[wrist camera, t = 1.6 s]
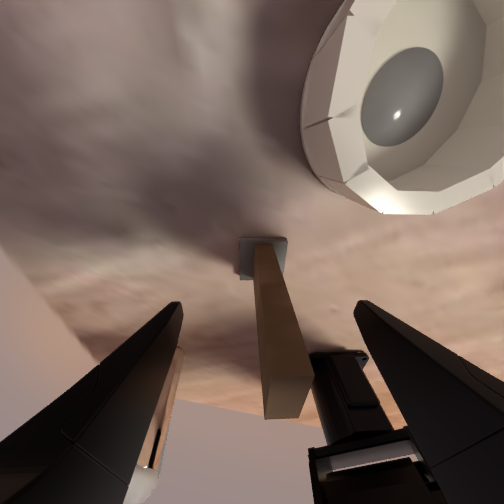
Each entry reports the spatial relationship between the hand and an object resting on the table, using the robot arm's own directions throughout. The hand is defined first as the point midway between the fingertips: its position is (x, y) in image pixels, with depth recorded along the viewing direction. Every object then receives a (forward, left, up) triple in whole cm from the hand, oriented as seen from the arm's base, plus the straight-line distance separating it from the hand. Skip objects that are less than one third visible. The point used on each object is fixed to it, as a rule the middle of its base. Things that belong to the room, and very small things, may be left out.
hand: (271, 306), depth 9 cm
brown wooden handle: (0, 0, -5) cm, 5 cm away
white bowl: (+9, -6, -5) cm, 12 cm away
